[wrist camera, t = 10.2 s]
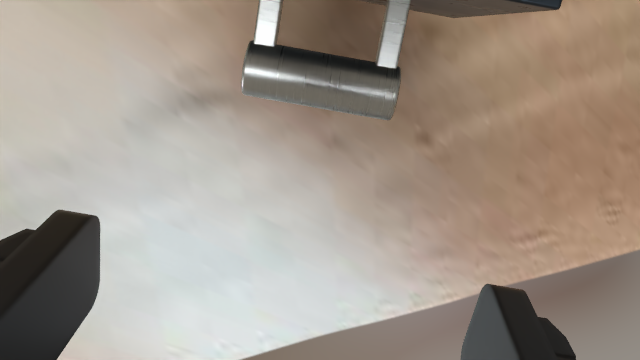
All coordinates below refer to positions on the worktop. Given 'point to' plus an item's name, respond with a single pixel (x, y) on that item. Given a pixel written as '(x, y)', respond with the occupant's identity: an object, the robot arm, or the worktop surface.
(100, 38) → the worktop surface
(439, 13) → the bin lid
